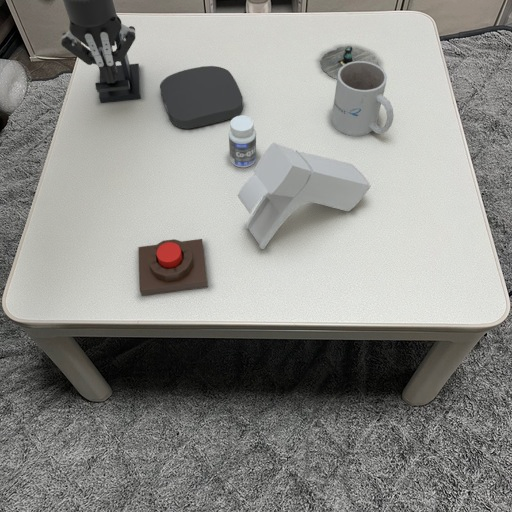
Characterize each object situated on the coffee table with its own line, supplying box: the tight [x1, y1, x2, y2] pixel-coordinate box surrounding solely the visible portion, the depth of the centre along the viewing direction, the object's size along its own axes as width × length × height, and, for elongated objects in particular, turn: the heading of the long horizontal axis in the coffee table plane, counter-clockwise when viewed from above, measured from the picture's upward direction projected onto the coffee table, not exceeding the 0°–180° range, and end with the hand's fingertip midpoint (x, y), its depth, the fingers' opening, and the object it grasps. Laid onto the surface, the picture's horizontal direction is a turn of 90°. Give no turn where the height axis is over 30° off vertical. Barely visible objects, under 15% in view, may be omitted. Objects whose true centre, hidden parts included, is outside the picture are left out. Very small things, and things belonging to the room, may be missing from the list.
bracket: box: [98, 32, 142, 104], centre depth 101 cm, size 10×8×13 cm
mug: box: [331, 61, 394, 137], centre depth 94 cm, size 12×9×10 cm
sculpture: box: [319, 45, 381, 80], centre depth 109 cm, size 12×9×8 cm
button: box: [157, 242, 182, 268], centre depth 77 cm, size 4×4×2 cm
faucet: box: [236, 141, 371, 250], centre depth 81 cm, size 6×16×20 cm
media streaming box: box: [159, 65, 244, 129], centre depth 101 cm, size 15×15×3 cm
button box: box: [138, 238, 209, 297], centre depth 79 cm, size 10×8×4 cm
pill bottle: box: [228, 115, 257, 168], centre depth 90 cm, size 5×5×8 cm
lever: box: [94, 42, 130, 93], centre depth 96 cm, size 12×6×2 cm, turn 9°
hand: (111, 80), depth 95 cm, fingers closed
